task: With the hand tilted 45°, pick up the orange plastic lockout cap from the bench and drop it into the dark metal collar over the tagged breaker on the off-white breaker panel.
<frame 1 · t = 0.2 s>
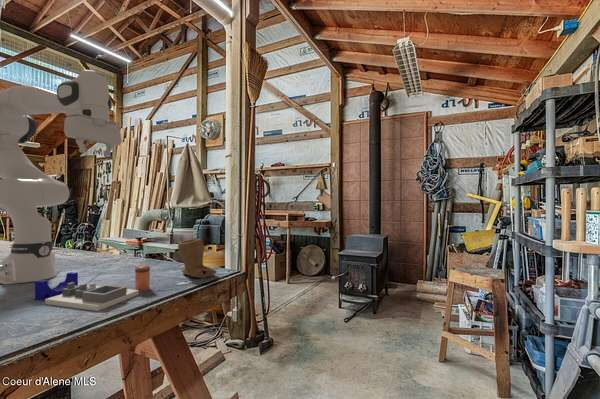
hand: (95, 154, 112), 48 cm above the table, tool pointing down, fingers open, 8 cm apart
breaker panel: (94, 299, 97), on the table
blue u-shaped piece: (55, 295, 102), on the table
lockout cap: (142, 289, 107), on the table
brown boot: (195, 275, 127), on the table
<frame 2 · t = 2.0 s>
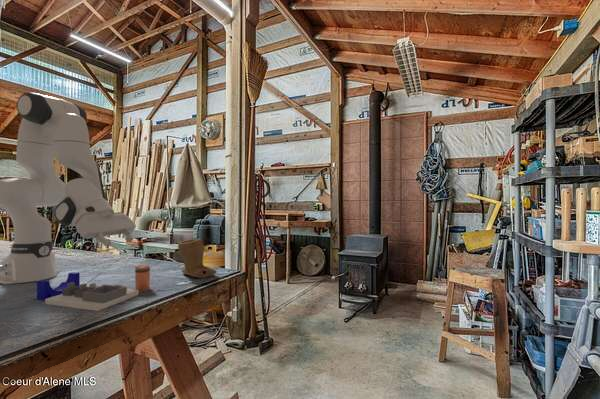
hand: (120, 242, 110), 16 cm above the table, tool tilted 45°, fingers open, 8 cm apart
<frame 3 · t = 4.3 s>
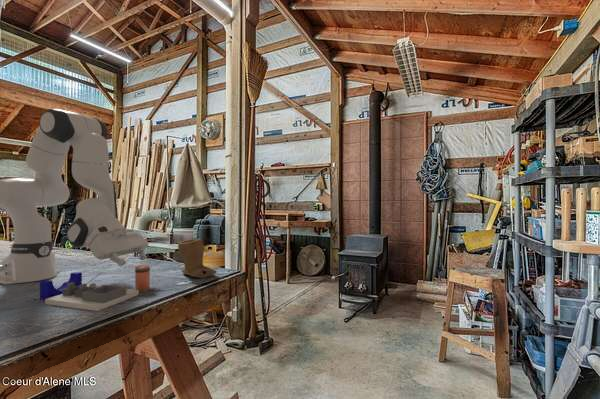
hand: (134, 261, 108), 9 cm above the table, tool tilted 45°, fingers open, 8 cm apart
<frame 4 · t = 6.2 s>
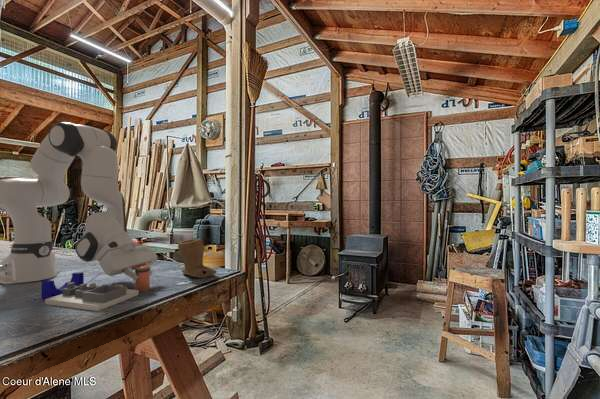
hand: (144, 277, 107), 4 cm above the table, tool tilted 45°, fingers closed on lockout cap, 4 cm apart
lockout cap: (142, 289, 107), on the table, touching gripper
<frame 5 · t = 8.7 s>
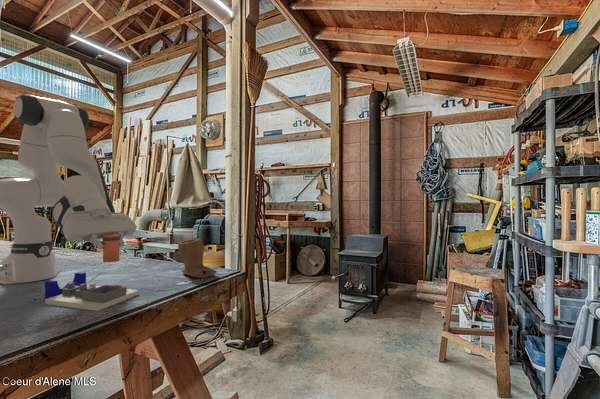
hand: (112, 246, 95), 17 cm above the table, tool tilted 45°, fingers closed on lockout cap, 4 cm apart
lockout cap: (111, 260, 96), point 12 cm above the table, touching gripper
when the fingers open (7 cm above the table, at t = 11.1 s): lockout cap drops 1 cm, resting on breaker panel.
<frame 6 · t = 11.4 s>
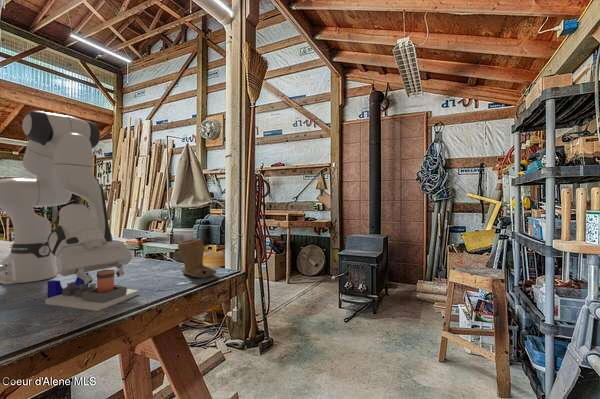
hand: (106, 278, 94), 7 cm above the table, tool tilted 45°, fingers open, 8 cm apart
lockout cap: (105, 297, 94), point 2 cm above the table, touching breaker panel
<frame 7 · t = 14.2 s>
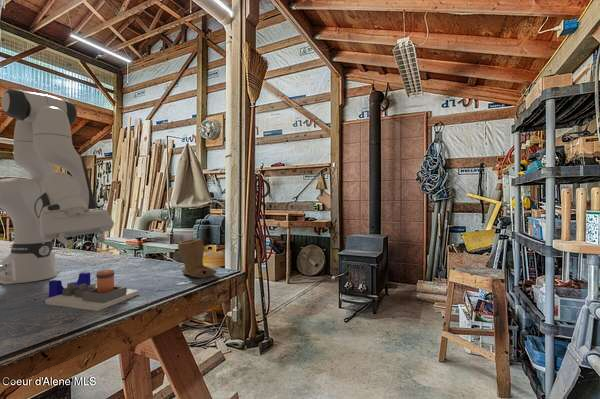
hand: (86, 243, 100), 17 cm above the table, tool tilted 40°, fingers open, 8 cm apart
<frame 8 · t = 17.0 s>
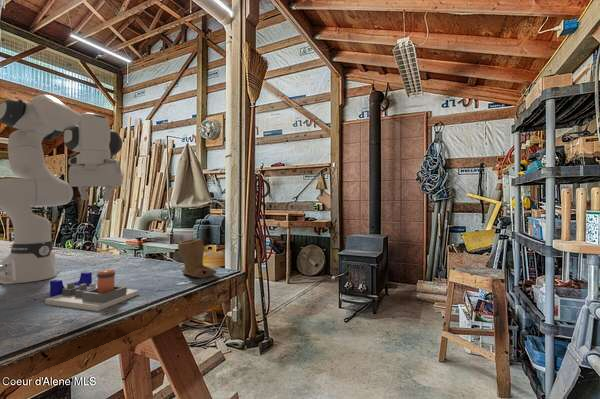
hand: (95, 199, 108), 31 cm above the table, tool pointing down, fingers open, 8 cm apart
at the end: lockout cap 0.3 cm from the target spot, point 1.5 cm above the table; lockout cap tilted 1°; the gripper is holding nothing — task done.
